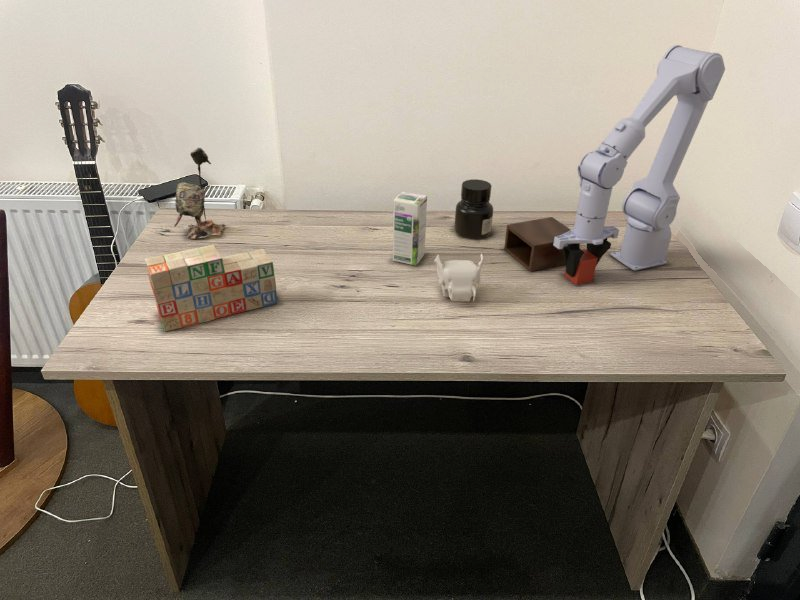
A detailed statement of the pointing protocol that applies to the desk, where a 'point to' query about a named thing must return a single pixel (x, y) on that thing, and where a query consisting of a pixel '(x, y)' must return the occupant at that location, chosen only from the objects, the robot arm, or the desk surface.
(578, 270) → the block
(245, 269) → the stack of blocks
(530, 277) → the desk surface
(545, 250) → the brown open wooden box
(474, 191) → the ink bottle
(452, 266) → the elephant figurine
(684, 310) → the desk surface
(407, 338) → the desk surface
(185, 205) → the brown bird figurine
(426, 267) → the desk surface
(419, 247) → the syrup box
